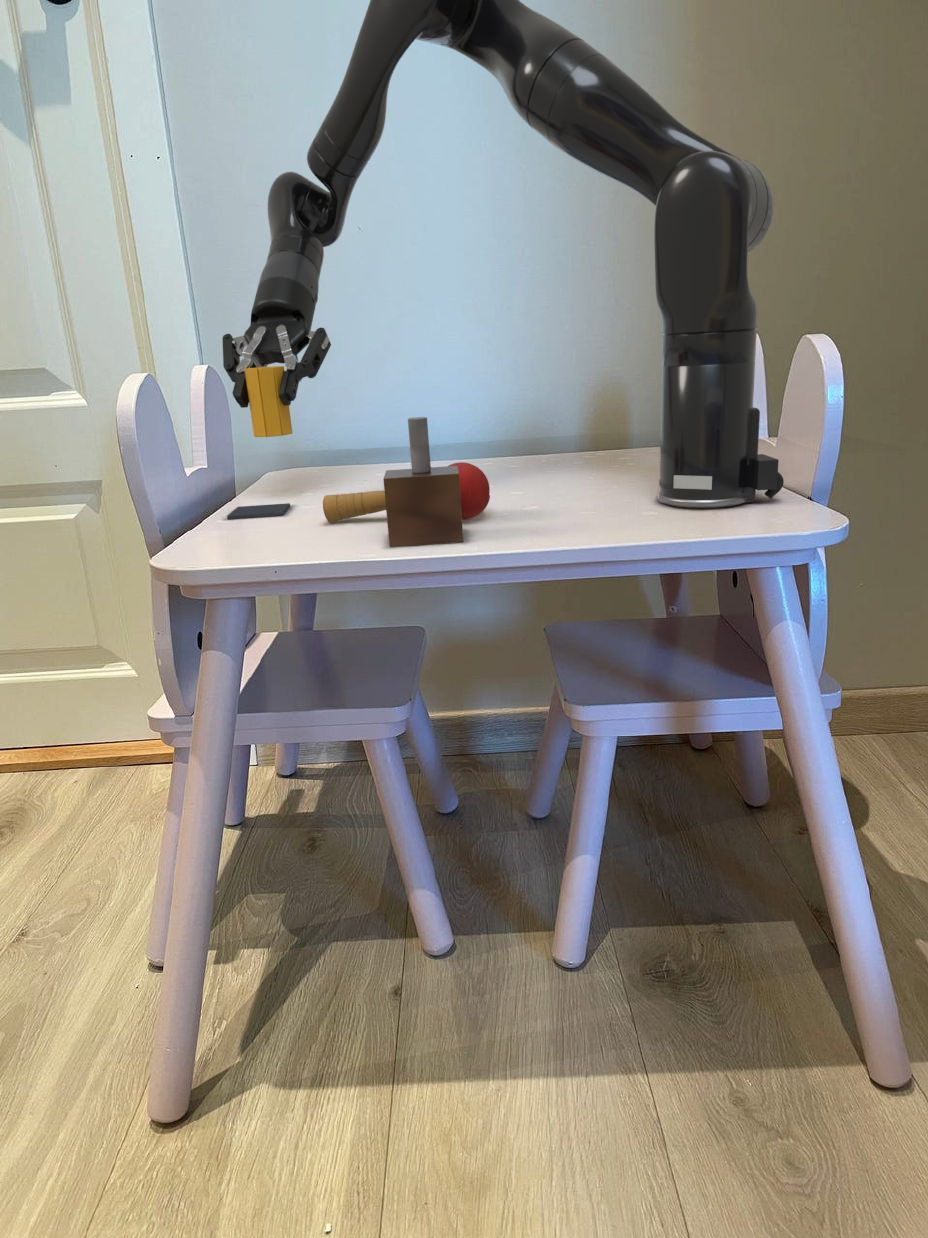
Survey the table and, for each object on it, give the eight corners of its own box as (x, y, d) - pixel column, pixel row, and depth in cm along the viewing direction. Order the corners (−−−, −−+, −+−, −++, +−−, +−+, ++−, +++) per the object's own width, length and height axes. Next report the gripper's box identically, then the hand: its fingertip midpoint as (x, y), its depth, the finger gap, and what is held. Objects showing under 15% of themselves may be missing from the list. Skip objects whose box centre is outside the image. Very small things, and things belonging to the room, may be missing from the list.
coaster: (290, 506, 101) (289, 503, 101) (282, 515, 96) (282, 512, 96) (238, 509, 101) (237, 506, 101) (227, 519, 96) (226, 515, 96)
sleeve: (299, 432, 103) (291, 365, 101) (275, 437, 99) (266, 367, 97) (271, 432, 105) (262, 366, 103) (246, 437, 102) (236, 369, 99)
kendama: (319, 543, 87) (486, 516, 83) (308, 483, 86) (476, 452, 82) (344, 539, 94) (499, 513, 90) (334, 483, 93) (489, 455, 89)
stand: (461, 530, 83) (454, 413, 79) (463, 542, 78) (455, 417, 74) (391, 535, 83) (381, 417, 79) (389, 547, 78) (378, 422, 74)
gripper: (222, 278, 105) (193, 383, 97) (330, 270, 102) (308, 377, 95) (246, 323, 111) (220, 424, 104) (348, 316, 109) (329, 419, 101)
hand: (262, 401), depth 99 cm, fingers closed on sleeve, 5 cm apart
